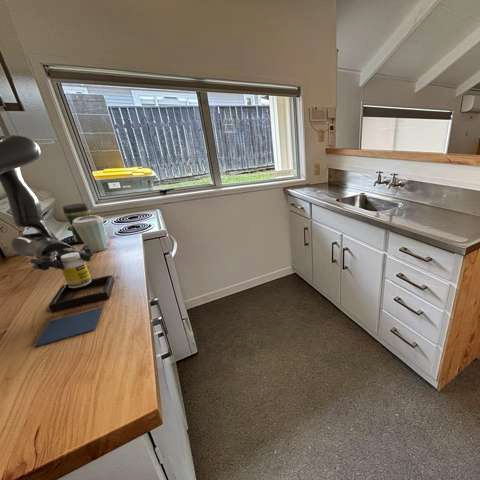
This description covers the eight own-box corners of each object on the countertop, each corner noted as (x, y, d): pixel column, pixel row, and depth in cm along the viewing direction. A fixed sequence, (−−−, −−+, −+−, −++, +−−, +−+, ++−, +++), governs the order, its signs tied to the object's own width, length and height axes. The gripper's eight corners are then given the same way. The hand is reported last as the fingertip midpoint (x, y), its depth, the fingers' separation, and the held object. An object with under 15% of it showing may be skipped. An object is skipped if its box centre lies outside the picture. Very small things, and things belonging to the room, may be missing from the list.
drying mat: (34, 347, 60) (34, 346, 60) (50, 321, 69) (50, 320, 69) (94, 330, 65) (94, 329, 65) (102, 308, 74) (101, 307, 74)
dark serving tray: (51, 313, 72) (48, 305, 72) (65, 292, 83) (62, 285, 82) (109, 298, 79) (106, 291, 78) (114, 281, 89) (112, 274, 88)
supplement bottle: (84, 287, 77) (73, 258, 73) (64, 289, 76) (51, 259, 73) (96, 278, 82) (85, 250, 78) (77, 280, 81) (65, 252, 78)
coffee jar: (98, 235, 135) (86, 201, 129) (101, 239, 130) (88, 203, 124) (74, 240, 129) (60, 204, 122) (76, 244, 124) (61, 207, 117)
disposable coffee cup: (115, 248, 118) (104, 217, 112) (84, 256, 110) (72, 222, 105) (109, 243, 124) (99, 213, 119) (80, 250, 117) (68, 218, 111)
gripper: (15, 248, 76) (36, 259, 68) (76, 234, 87) (100, 242, 80) (26, 271, 78) (47, 284, 71) (84, 254, 90) (107, 264, 82)
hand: (75, 262), depth 75 cm, fingers closed on supplement bottle, 5 cm apart
